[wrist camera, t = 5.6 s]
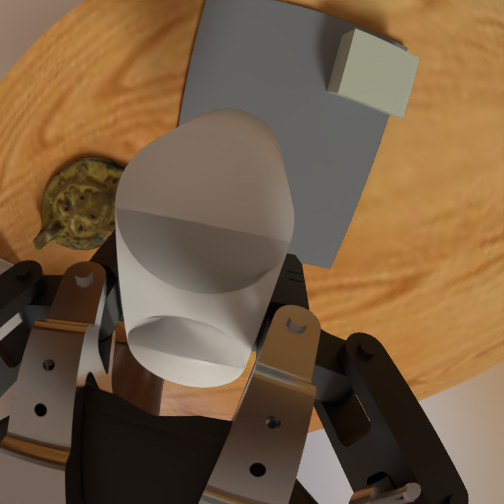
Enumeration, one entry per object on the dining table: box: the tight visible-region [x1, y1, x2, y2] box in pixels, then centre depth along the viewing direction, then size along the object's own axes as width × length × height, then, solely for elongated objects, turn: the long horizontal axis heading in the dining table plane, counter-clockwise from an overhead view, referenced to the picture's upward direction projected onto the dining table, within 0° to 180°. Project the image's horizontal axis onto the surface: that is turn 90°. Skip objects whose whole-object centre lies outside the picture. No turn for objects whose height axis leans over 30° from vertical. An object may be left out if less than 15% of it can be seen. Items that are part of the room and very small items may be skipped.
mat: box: [179, 0, 407, 269], centre depth 21 cm, size 22×16×1 cm
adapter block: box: [327, 28, 420, 119], centre depth 16 cm, size 5×5×4 cm
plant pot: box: [111, 343, 164, 416], centre depth 33 cm, size 16×16×16 cm
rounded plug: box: [115, 108, 294, 387], centre depth 10 cm, size 12×4×5 cm, turn 168°
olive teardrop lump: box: [33, 157, 125, 250], centre depth 24 cm, size 9×5×15 cm
